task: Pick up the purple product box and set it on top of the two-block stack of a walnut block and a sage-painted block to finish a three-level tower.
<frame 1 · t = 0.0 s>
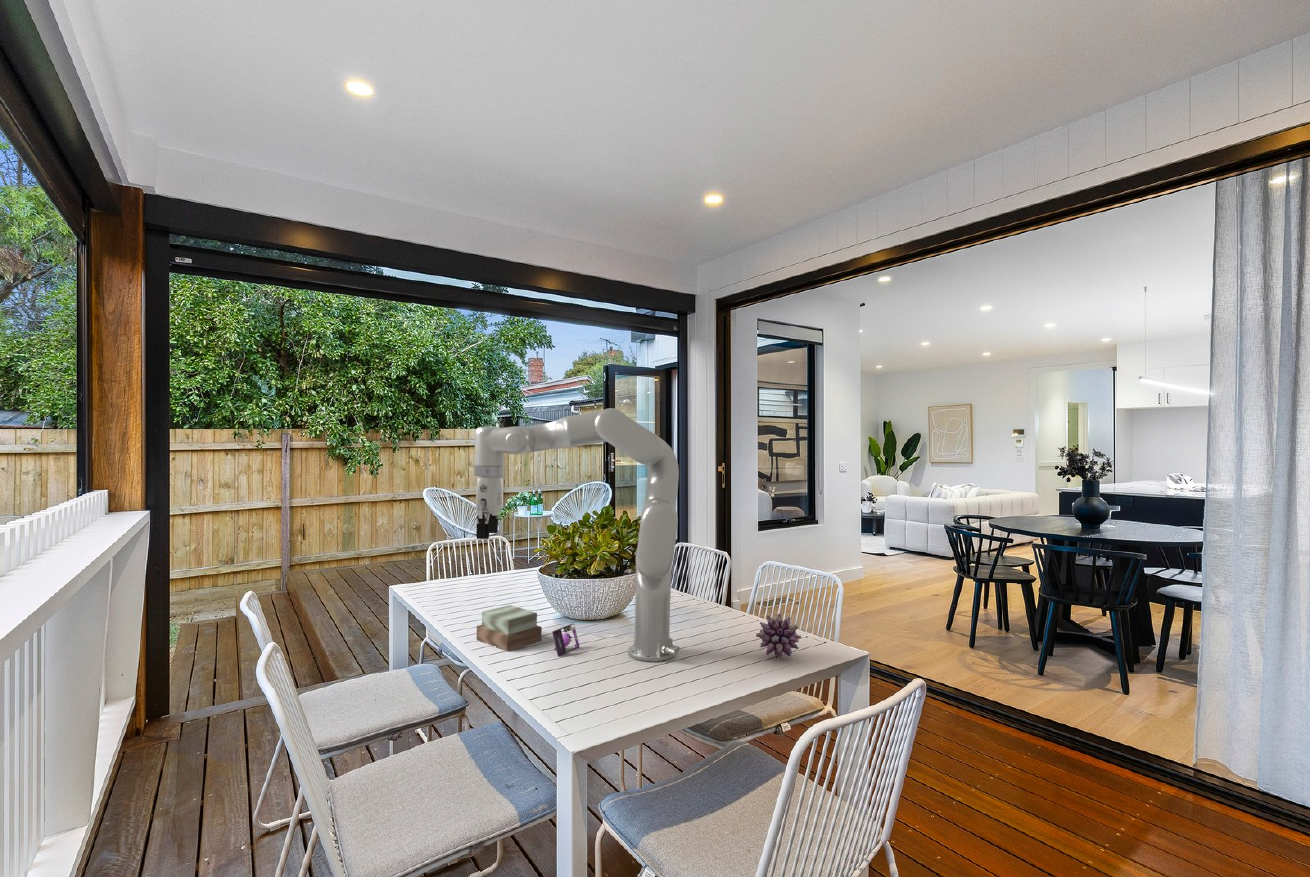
hand: (487, 535, 171), 31 cm above the table, tool pointing down, fingers open, 9 cm apart
tower stack: (509, 640, 180), on the table
purple spiky ball: (778, 658, 171), on the table
purple product box: (562, 651, 173), on the table
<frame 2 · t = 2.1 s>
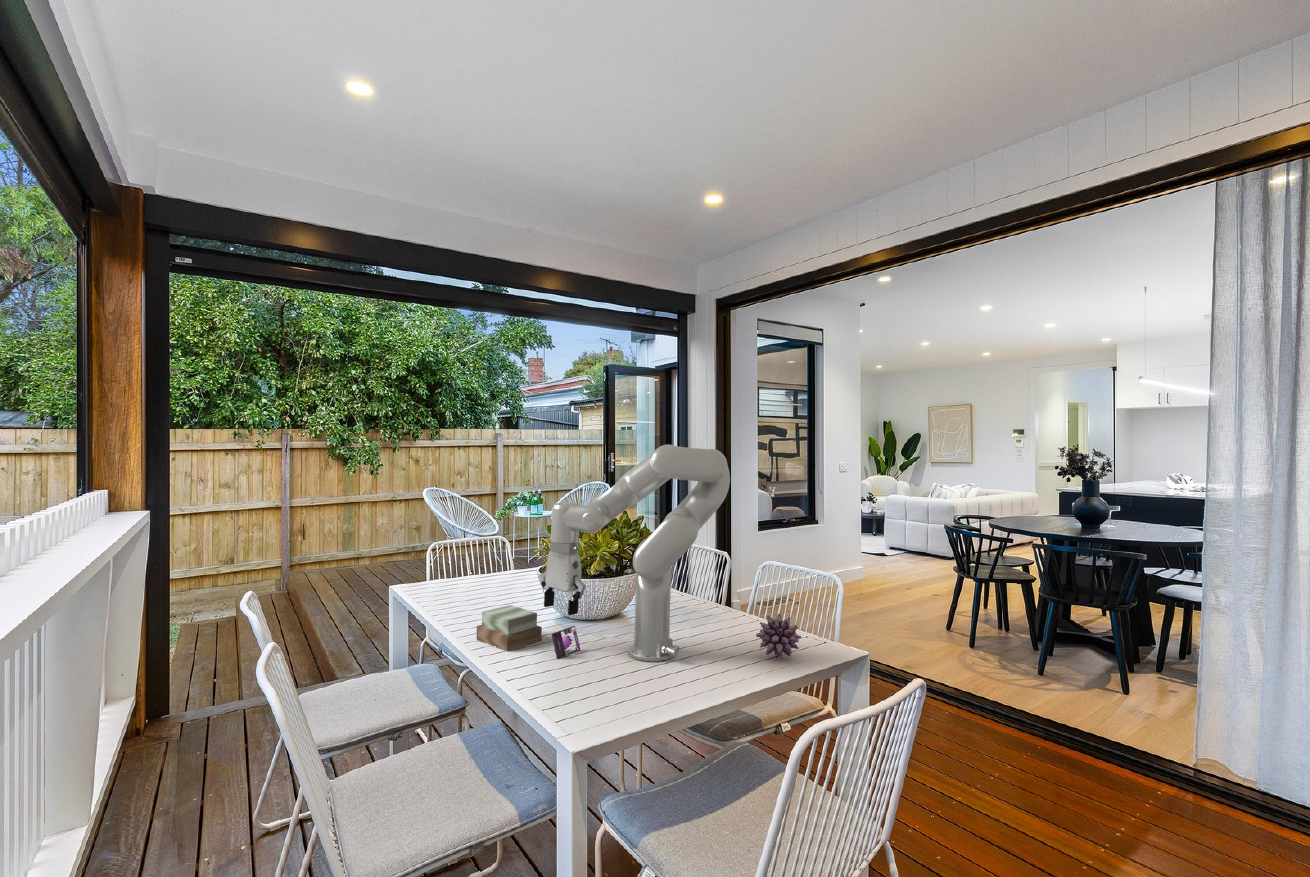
hand: (560, 610, 173), 11 cm above the table, tool pointing down, fingers open, 9 cm apart
purple product box: (562, 654, 171), on the table
everything else where it was.
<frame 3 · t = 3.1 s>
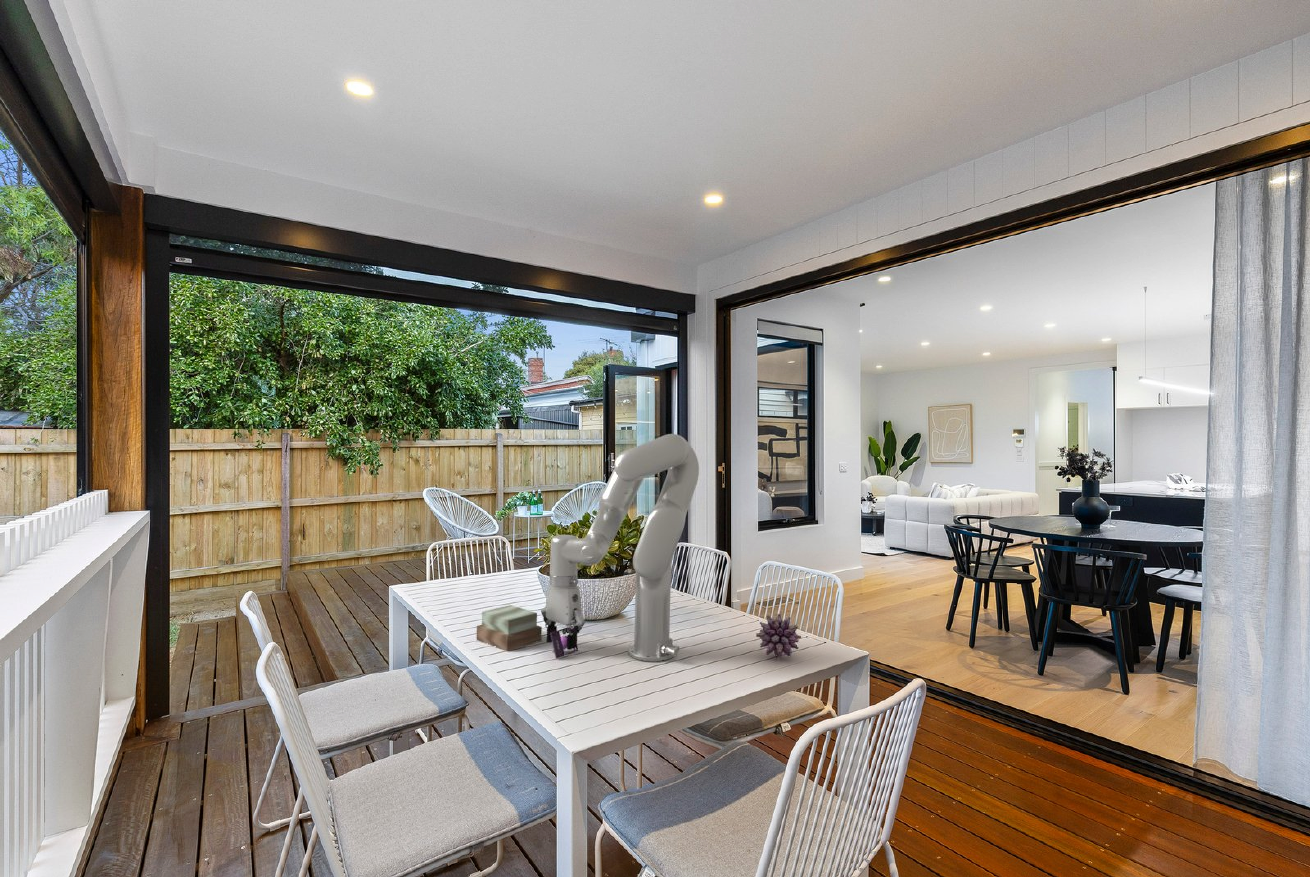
hand: (561, 644, 173), 1 cm above the table, tool pointing down, fingers open, 7 cm apart
purple product box: (561, 654, 171), on the table, touching gripper
everything else where it was.
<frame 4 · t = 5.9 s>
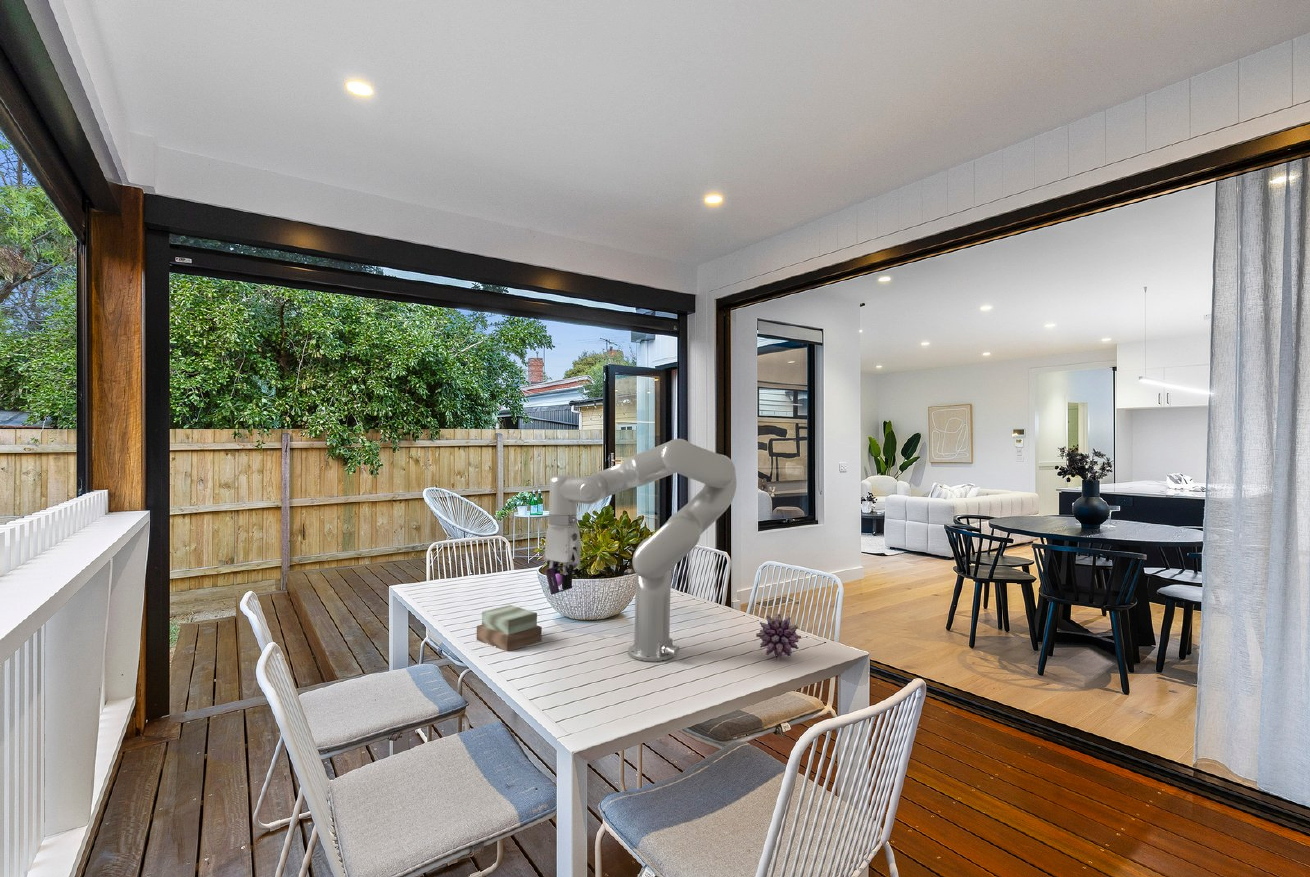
hand: (560, 586, 174), 17 cm above the table, tool pointing down, fingers closed on purple product box, 3 cm apart
purple product box: (555, 591, 172), point 16 cm above the table, touching gripper
everything else where it was.
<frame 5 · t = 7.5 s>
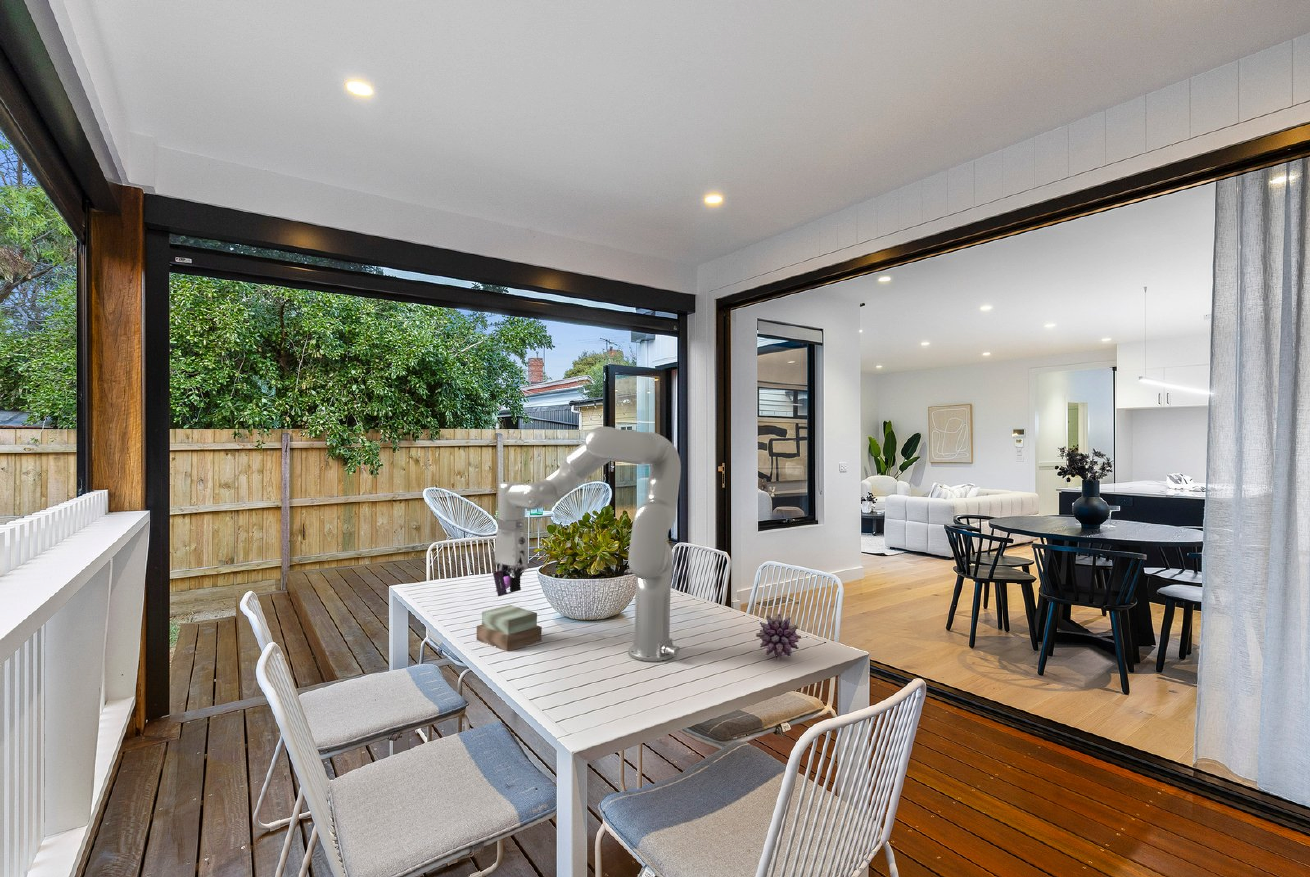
hand: (509, 588, 180), 15 cm above the table, tool pointing down, fingers closed on purple product box, 3 cm apart
purple product box: (503, 592, 178), point 14 cm above the table, touching gripper
everything else where it was.
when the fingers open (10 cm above the table, at t = 8.5 s): purple product box drops 1 cm, resting on tower stack.
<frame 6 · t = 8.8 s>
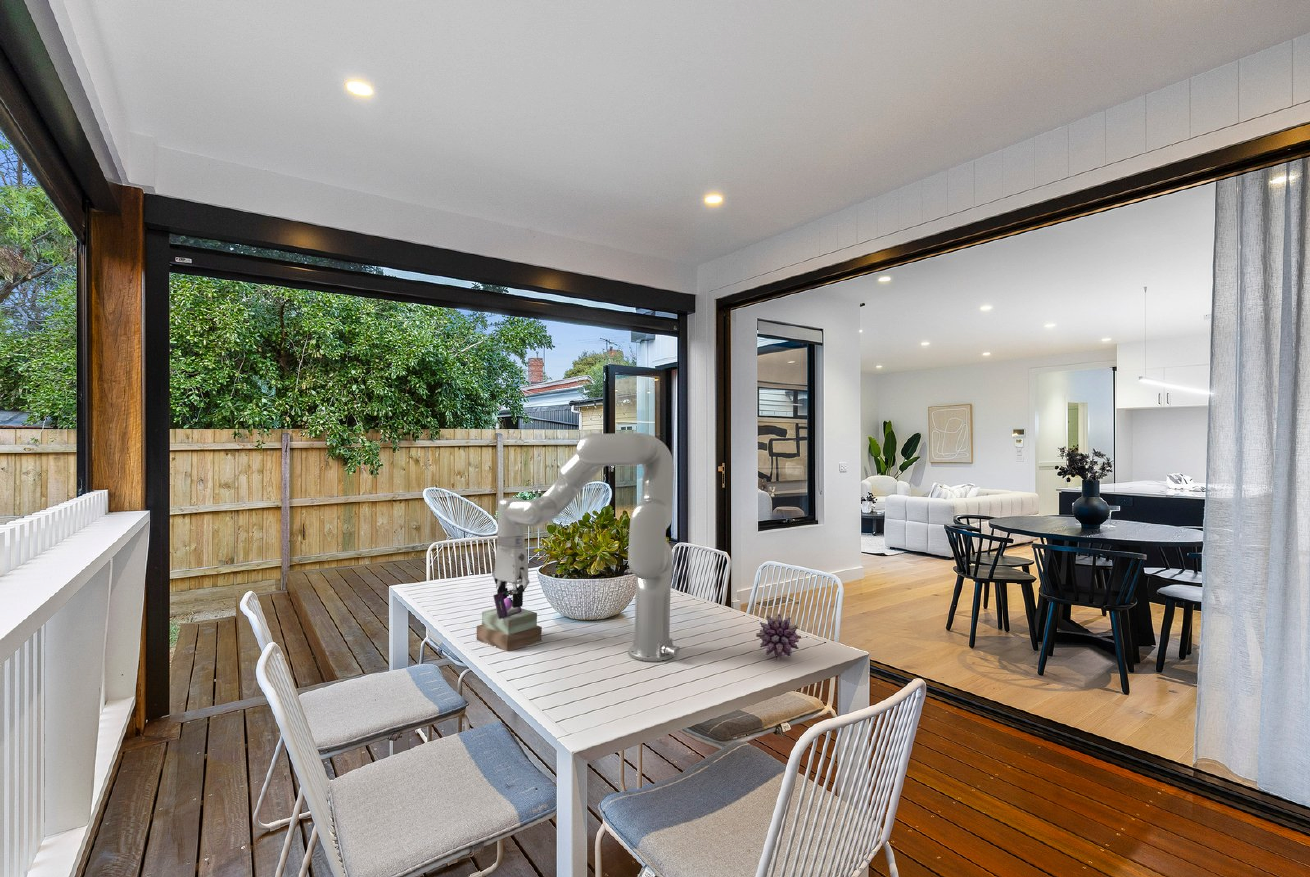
hand: (509, 604, 180), 10 cm above the table, tool pointing down, fingers open, 6 cm apart
purple product box: (504, 615, 178), point 8 cm above the table, touching tower stack
everything else where it was.
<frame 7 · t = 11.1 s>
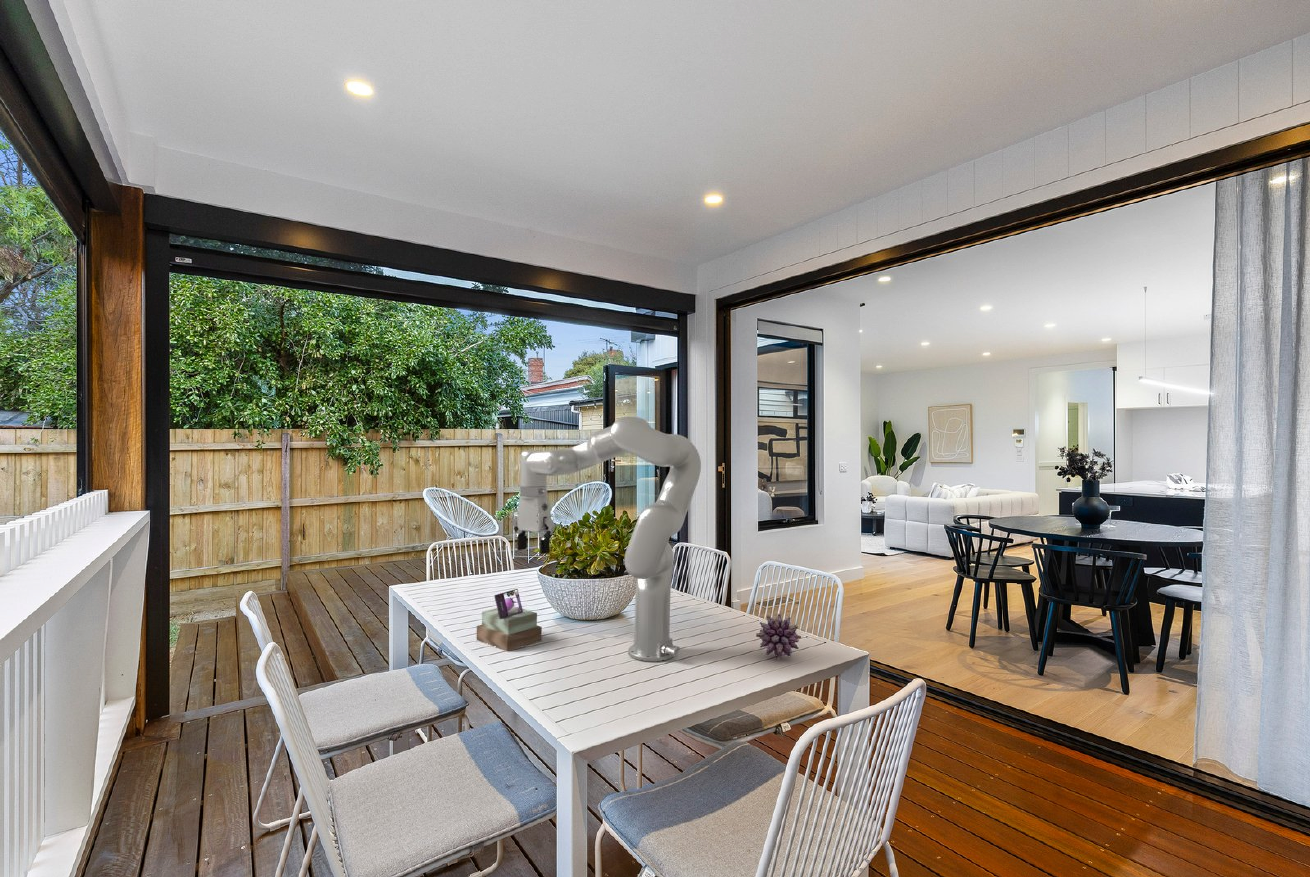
hand: (533, 551, 184), 25 cm above the table, tool pointing down, fingers open, 9 cm apart
nothing on the table moved.
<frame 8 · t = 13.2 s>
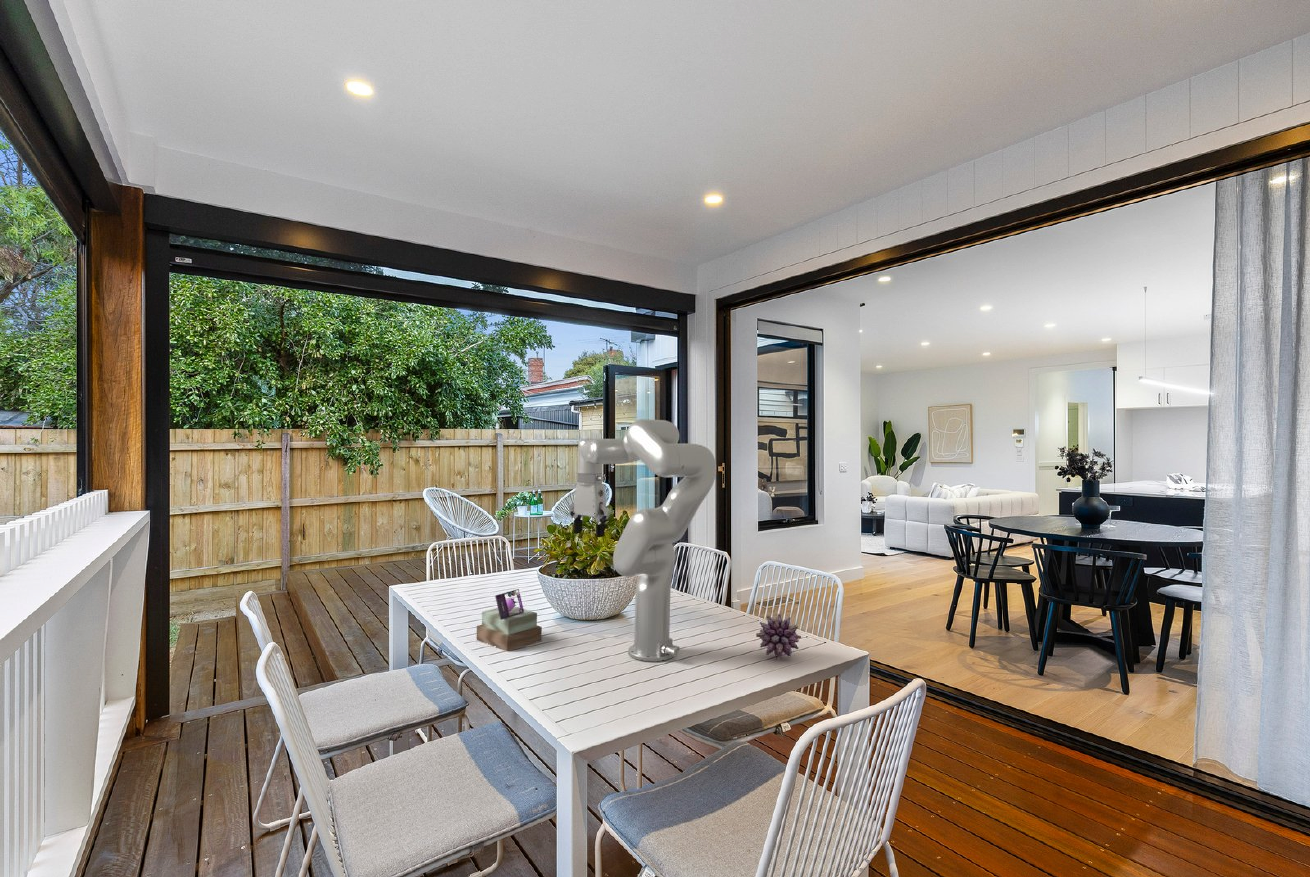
hand: (588, 535, 194), 28 cm above the table, tool pointing down, fingers open, 9 cm apart
nothing on the table moved.
at the end: purple product box inside the target area on the tower stack (2.6 cm from its centre), point 7.8 cm above the tower stack's base; purple product box tilted 0°; the gripper is holding nothing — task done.
